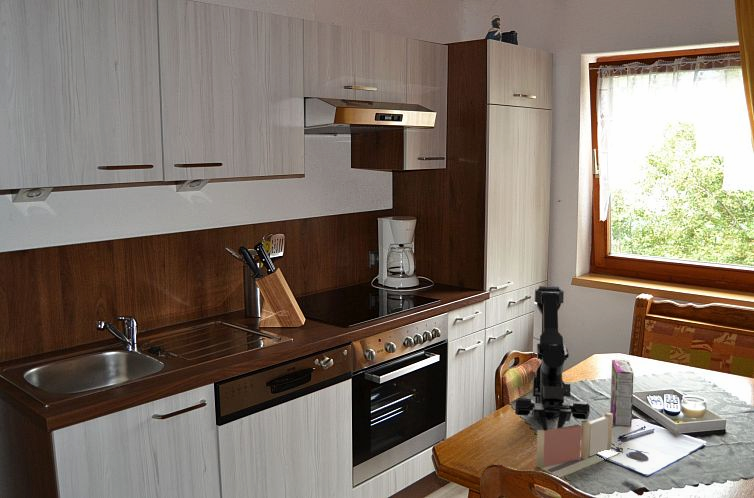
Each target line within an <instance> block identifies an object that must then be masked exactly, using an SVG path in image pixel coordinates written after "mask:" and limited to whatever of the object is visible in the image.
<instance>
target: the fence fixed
mask: <svg viewBox="0 0 754 498" xmlns="http://www.w3.org/2000/svg"><path fill="white" fill-rule="evenodd" d="M613 424H614V420H613V414H612V413H611V412H605V413H604V416H601V417H599V418H596V419H592V420H590V421H589V420H582V421H581V445H580V450H581V452H580V458H582V459H585V460H586V459H588V456H592V455H595V454H596V453H598V452H601V451H604V450H610V449H611V450H612V443H613V442H612V440H613V439H612V438H613Z"/></svg>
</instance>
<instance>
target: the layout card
mask: <svg viewBox="0 0 754 498" xmlns="http://www.w3.org/2000/svg"><path fill="white" fill-rule="evenodd" d="M580 452H581V449H580ZM602 461H605V460H604V459H603V458H601V457H599V456H597V455H596V454H595V455H592V456H588V459H586V460H585V459H582V458H580V459H578V460H574V461H569V462H564V463H559V464H554V465H549V466H544V467H542V468H540V469H541V470H544V471H545V472H547V473H549V474H550V475H552V476H555V477H557V476H558V477H559V479H561V478H563V477H565V476H566V477H567V476H568V475H570V474H573V473H575V472H578V471H580V470H583V469H585V468H587V467H590V466H593V465H595V464H597V463H600V462H602ZM558 477H557V478H558Z"/></svg>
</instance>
